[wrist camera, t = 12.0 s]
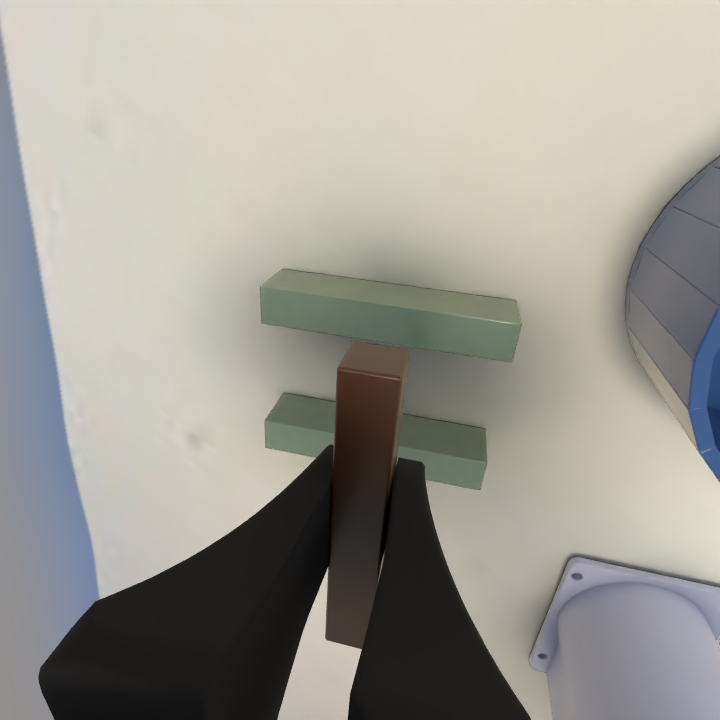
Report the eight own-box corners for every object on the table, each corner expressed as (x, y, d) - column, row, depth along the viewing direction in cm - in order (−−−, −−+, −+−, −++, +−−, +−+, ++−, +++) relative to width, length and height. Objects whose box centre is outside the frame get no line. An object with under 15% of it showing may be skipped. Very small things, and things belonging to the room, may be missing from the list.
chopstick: (378, 610, 14) (369, 652, 13) (336, 599, 14) (324, 640, 13) (411, 348, 10) (402, 377, 9) (351, 339, 10) (336, 367, 9)
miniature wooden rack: (479, 455, 23) (480, 490, 21) (283, 418, 24) (265, 448, 22) (517, 300, 19) (522, 324, 17) (282, 268, 21) (259, 286, 19)
